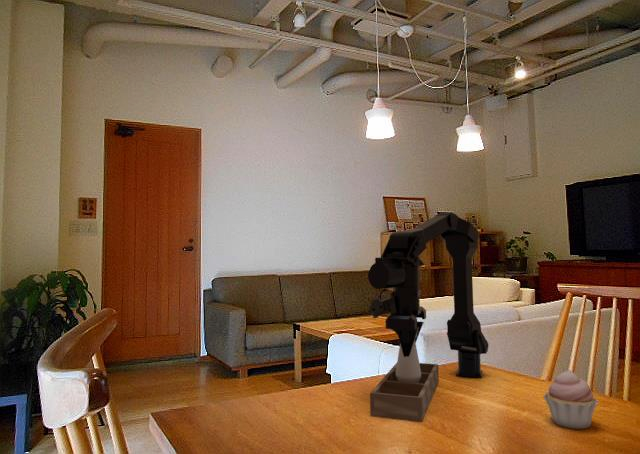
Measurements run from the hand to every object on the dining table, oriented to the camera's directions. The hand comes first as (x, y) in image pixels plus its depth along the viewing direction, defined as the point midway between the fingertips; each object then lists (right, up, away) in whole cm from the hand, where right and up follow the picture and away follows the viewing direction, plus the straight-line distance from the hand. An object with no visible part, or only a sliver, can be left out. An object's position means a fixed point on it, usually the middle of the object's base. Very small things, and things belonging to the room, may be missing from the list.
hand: (407, 355), depth 107 cm
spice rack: (0, -9, -1) cm, 9 cm away
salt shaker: (0, -7, 0) cm, 7 cm away
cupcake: (+28, -9, -17) cm, 34 cm away
